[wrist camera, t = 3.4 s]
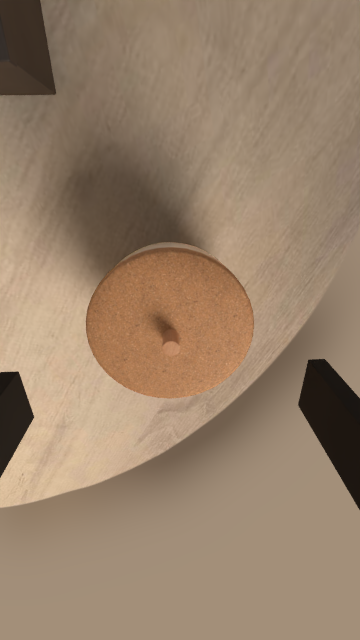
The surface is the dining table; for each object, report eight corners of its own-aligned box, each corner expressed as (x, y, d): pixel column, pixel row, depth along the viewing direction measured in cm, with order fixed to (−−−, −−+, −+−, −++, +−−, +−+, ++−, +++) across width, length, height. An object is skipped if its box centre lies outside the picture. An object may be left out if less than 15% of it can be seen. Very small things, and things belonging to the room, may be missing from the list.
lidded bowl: (97, 325, 26) (62, 394, 17) (127, 209, 22) (101, 226, 13) (203, 356, 28) (218, 431, 19) (251, 255, 23) (297, 296, 15)
